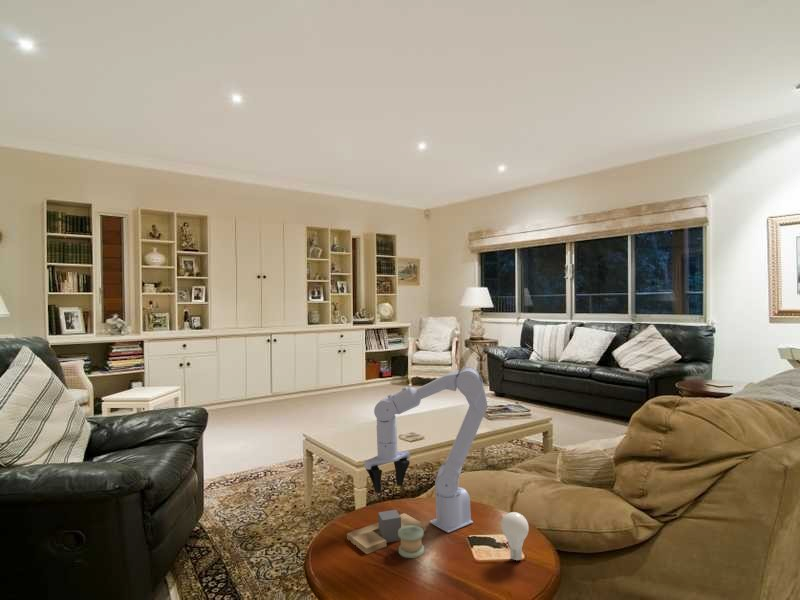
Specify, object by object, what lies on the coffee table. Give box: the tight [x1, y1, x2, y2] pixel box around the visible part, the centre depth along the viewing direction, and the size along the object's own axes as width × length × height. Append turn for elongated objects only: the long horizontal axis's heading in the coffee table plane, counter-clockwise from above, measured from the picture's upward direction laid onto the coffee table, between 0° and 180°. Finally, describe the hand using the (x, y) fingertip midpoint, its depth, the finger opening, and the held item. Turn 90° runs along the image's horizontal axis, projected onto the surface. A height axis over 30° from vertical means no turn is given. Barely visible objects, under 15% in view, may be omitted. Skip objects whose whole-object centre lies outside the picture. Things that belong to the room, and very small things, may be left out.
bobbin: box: [398, 525, 425, 559], centre depth 116 cm, size 6×6×5 cm
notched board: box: [346, 512, 427, 555], centre depth 125 cm, size 19×10×2 cm, turn 125°
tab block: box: [377, 509, 401, 544], centre depth 124 cm, size 5×5×6 cm
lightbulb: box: [500, 511, 530, 562], centre depth 111 cm, size 6×6×11 cm
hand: (388, 488), depth 133 cm, fingers open, 7 cm apart
